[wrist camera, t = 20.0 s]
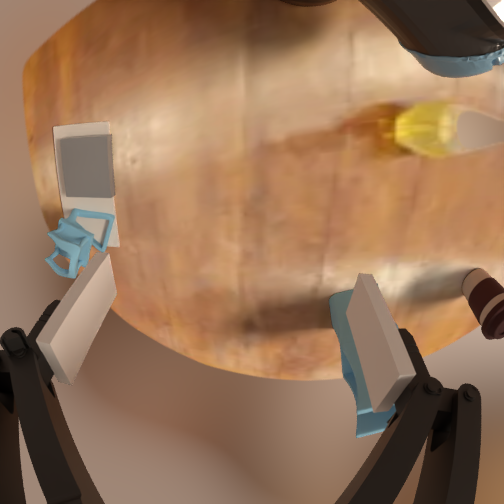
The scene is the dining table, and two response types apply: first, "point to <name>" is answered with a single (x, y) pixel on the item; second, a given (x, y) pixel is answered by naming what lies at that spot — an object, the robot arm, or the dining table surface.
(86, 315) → the robot arm
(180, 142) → the dining table surface
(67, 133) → the mat
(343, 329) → the blue wavy holder
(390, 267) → the dining table surface
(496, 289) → the coffee cup
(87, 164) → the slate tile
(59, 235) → the chair
